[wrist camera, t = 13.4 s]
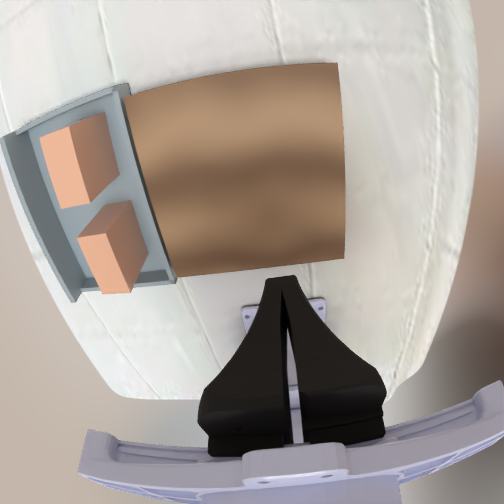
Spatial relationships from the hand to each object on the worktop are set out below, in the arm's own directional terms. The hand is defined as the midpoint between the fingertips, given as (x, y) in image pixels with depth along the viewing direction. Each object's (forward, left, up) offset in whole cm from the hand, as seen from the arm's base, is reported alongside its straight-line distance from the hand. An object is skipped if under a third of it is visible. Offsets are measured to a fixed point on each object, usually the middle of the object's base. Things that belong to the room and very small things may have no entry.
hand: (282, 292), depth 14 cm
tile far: (-1, +11, -7) cm, 13 cm away
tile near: (+7, +11, -7) cm, 15 cm away
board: (+3, +2, -10) cm, 11 cm away
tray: (+3, +14, -10) cm, 17 cm away
